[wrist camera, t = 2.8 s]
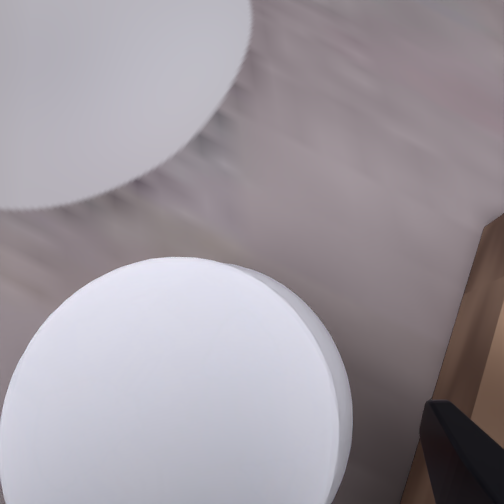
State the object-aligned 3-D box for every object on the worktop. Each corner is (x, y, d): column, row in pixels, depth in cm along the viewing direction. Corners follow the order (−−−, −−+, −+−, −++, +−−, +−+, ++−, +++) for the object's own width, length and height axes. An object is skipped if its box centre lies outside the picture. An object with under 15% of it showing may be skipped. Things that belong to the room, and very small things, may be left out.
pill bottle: (157, 507, 16) (-69, 771, 5) (135, 333, 17) (-68, 252, 7) (330, 469, 16) (467, 644, 5) (291, 300, 18) (333, 172, 7)
